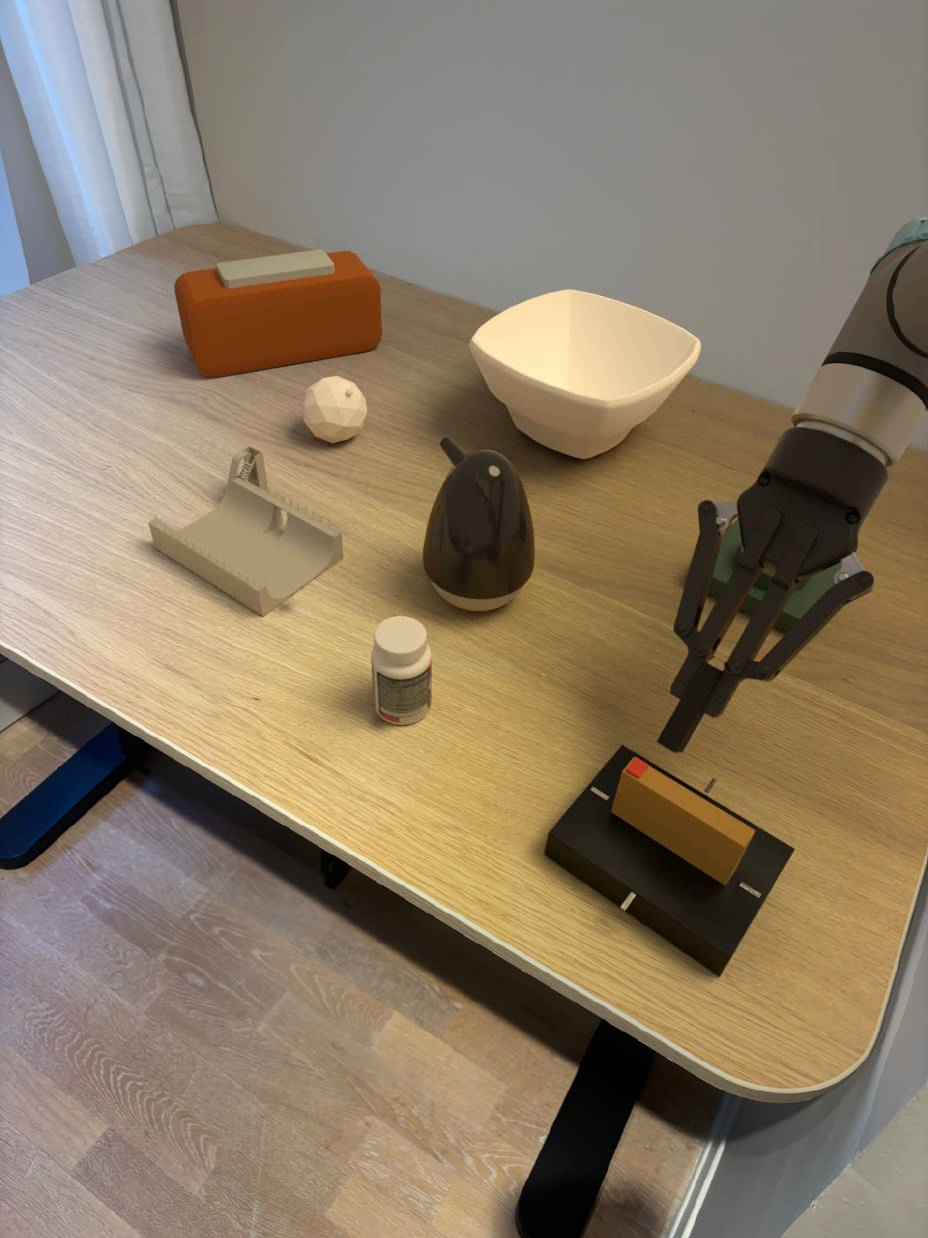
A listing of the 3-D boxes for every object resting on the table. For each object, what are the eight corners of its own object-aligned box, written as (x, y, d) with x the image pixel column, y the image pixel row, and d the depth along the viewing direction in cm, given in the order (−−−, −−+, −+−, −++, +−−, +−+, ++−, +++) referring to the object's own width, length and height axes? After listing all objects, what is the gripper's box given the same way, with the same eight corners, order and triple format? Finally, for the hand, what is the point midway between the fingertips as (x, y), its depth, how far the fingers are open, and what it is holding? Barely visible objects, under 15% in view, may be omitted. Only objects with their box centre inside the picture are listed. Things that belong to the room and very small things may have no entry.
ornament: (354, 411, 104) (384, 376, 97) (344, 463, 101) (374, 430, 94) (299, 386, 100) (327, 349, 94) (287, 439, 97) (314, 404, 91)
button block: (844, 585, 85) (859, 554, 82) (804, 642, 79) (818, 610, 76) (732, 534, 90) (742, 503, 87) (686, 583, 84) (696, 552, 81)
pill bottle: (441, 712, 72) (444, 642, 66) (391, 735, 70) (389, 665, 64) (413, 674, 75) (412, 604, 69) (363, 696, 73) (359, 625, 67)
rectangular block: (735, 869, 59) (757, 828, 55) (725, 886, 58) (746, 845, 55) (622, 797, 63) (634, 754, 59) (610, 812, 62) (622, 769, 58)
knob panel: (791, 855, 64) (805, 832, 61) (708, 997, 56) (720, 976, 54) (626, 754, 69) (633, 730, 67) (530, 870, 62) (535, 847, 60)
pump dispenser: (477, 540, 88) (485, 407, 77) (552, 594, 82) (572, 459, 72) (398, 584, 83) (396, 448, 72) (473, 645, 77) (483, 508, 67)
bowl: (554, 365, 114) (565, 277, 105) (703, 431, 104) (727, 340, 95) (440, 432, 101) (442, 338, 93) (596, 514, 91) (613, 417, 83)
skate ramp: (155, 547, 85) (143, 506, 81) (256, 485, 93) (249, 445, 89) (263, 616, 79) (255, 574, 75) (361, 544, 87) (359, 503, 83)
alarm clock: (362, 321, 120) (358, 238, 112) (383, 349, 115) (380, 263, 107) (186, 350, 113) (168, 262, 105) (199, 381, 107) (182, 291, 99)
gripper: (930, 500, 60) (760, 794, 62) (756, 430, 66) (605, 703, 68) (939, 470, 53) (747, 801, 56) (744, 395, 59) (576, 699, 61)
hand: (669, 747), depth 62 cm, fingers closed
